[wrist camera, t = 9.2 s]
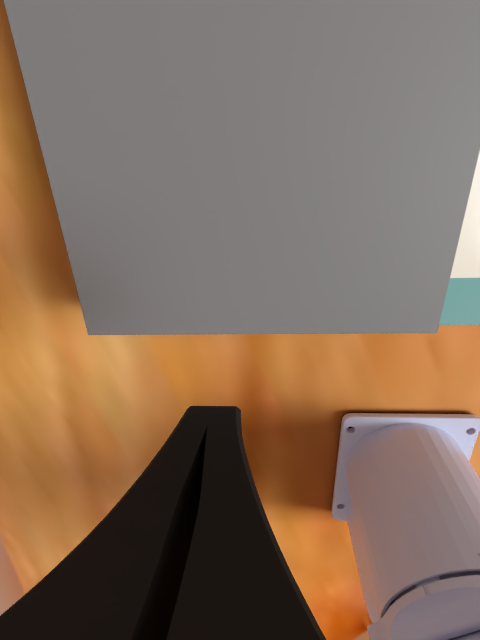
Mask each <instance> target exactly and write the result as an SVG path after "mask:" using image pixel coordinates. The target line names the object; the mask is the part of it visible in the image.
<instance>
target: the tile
mask: <svg viewBox="0 0 480 640" xmlns="http://www.w3.org/2000/svg"><path fill="white" fill-rule="evenodd" d="M450 278H480V151H479V156H478V160H477V164H476V168H475V173H474V177H473V181H472V186H471V190H470V194H469V198H468V203H467V207H466V211H465V216H464V220H463V224H462V228H461V233H460V237H459V241H458V246H457V250H456V254H455V258H454V263H453V267H452V271H451V276H450Z"/></svg>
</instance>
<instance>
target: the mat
mask: <svg viewBox="0 0 480 640" xmlns="http://www.w3.org/2000/svg"><path fill="white" fill-rule="evenodd" d="M439 325H480V278H450V280H449V284H448V288H447V293H446V297H445V301H444V306H443V310H442V314H441V318H440V323H439Z"/></svg>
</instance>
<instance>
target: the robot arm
mask: <svg viewBox="0 0 480 640" xmlns="http://www.w3.org/2000/svg"><path fill="white" fill-rule="evenodd" d="M348 427H352V428H350V429H348ZM469 428H471V429H469ZM468 429H469V430H468ZM479 430H480V419H479V417H478V416H476V415H473V414H386V413H349V414H346V415H345V416H344V417H343V418H342V424H341V433H340V441H339V450H338V459H337V468H336V476H335V485H334V494H333V503H332V517H333V518H334V519H336V520H347V522H348V526H349V531H350V536H351V540H352V545H353V549H354V554H355V559H356V563H357V568H358V572H359V577H360V582H361V586H362V591H363V596H364V600H365V605H366V608H367V611H368V614H369V617H370V619H371V621H372V623H373V624H370V625H368V626H367V630H368V634H369V639H370V640H480V478H479V476H478V475H477V473H476V471H475V470H474V468H473V467H472V465H471V463H470V462H469V460H470V457H471V454H472V451H473V448H474V445H475V442H476V439H477V436H478V433H479ZM0 640H326V638H325V637H324V635H323V633H322V631H321V629H320V628H319V626H318V624H317V622H316V620H315V618H314V616H313V614H312V612H311V610H310V608H309V606H308V604H307V603H306V601H305V599H304V597H303V595H302V593H301V591H300V589H299V587H298V585H297V583H296V581H295V579H294V577H293V575H292V573H291V571H290V569H289V567H288V565H287V563H286V561H285V558H284V556H283V554H282V552H281V550H280V548H279V545H278V543H277V541H276V538H275V536H274V534H273V531H272V529H271V527H270V524H269V522H268V519H267V517H266V514H265V512H264V509H263V506H262V504H261V501H260V498H259V495H258V492H257V490H256V487H255V484H254V480H253V477H252V474H251V471H250V467H249V464H248V460H247V457H246V453H245V448H244V444H243V439H242V430H241V410H240V409H239V408H238V407H236V406H190V407H189V408H188V409H187V410H186V412H185V414H184V415H183V417H182V418H181V420H180V421H179V423H178V425H177V426H176V428H175V429H174V431H173V432H172V434H171V435H170V436H169V438H168V439H167V441H166V442H165V444H164V445H163V446H162V448H161V449H160V451H159V452H158V453H157V455H156V456H155V457H154V459H153V460H152V461H151V463H150V464H149V465H148V467H147V468H146V469H145V471H144V472H143V473H142V474H141V476H140V477H139V478H138V479H137V480H136V482H135V483H134V484H133V485H132V487H131V488H130V489H129V490H128V491H127V493H126V494H125V495H124V496H123V497H122V499H121V500H120V501H119V502H118V503H117V504H116V506H115V507H114V508H113V509H112V510H111V511H110V512H109V513H108V515H107V516H106V517H105V518H104V519H103V520H102V521H101V522H100V523H99V524H98V525H97V526H96V527H95V528H94V529H93V530H92V532H91V533H90V534H89V535H88V536H87V537H86V538H85V539H84V540H83V541H82V542H81V543H80V544H79V545H78V546H77V547H76V548H75V549H74V550H73V551H72V552H71V553H70V554H69V555H67V556H66V557H65V558H64V559H63V560H62V561H61V562H60V563H59V564H58V565H57V566H56V567H55V568H54V569H53V570H52V571H51V572H50V573H49V574H48V575H47V576H45V577H44V578H43V579H42V580H41V581H40V582H39V583H38V584H37V585H36V586H34V587H33V588H32V589H31V590H30V591H29V592H28V593H26V594H25V595H24V596H23V597H22V598H21V599H20V600H18V601H17V602H16V603H15V604H14V605H12V606H11V607H10V608H9V609H8V610H7V611H5V612H4V613H3V614H2V615H1V616H0Z"/></svg>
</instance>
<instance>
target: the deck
mask: <svg viewBox="0 0 480 640" xmlns="http://www.w3.org/2000/svg"><path fill="white" fill-rule="evenodd" d="M4 4H5V8H6V12H7V16H8V20H9V24H10V28H11V32H12V36H13V40H14V44H15V48H16V52H17V56H18V59H19V63H20V67H21V71H22V75H23V79H24V83H25V87H26V91H27V95H28V99H29V103H30V107H31V111H32V115H33V119H34V123H35V126H36V130H37V134H38V138H39V142H40V146H41V150H42V154H43V158H44V162H45V166H46V170H47V174H48V178H49V182H50V186H51V190H52V194H53V197H54V201H55V205H56V209H57V213H58V217H59V221H60V225H61V229H62V233H63V237H64V241H65V245H66V249H67V253H68V257H69V261H70V264H71V268H72V272H73V276H74V280H75V284H76V288H77V292H78V296H79V300H80V304H81V308H82V312H83V316H84V320H85V324H86V328H87V331H88V335H176V334H379V333H437V331H438V327H439V323H440V318H441V314H442V310H443V306H444V301H445V297H446V293H447V288H448V284H449V280H450V276H451V271H452V267H453V263H454V258H455V254H456V250H457V246H458V241H459V237H460V233H461V228H462V224H463V220H464V216H465V211H466V207H467V203H468V198H469V194H470V190H471V186H472V181H473V177H474V173H475V168H476V164H477V160H478V156H479V151H480V0H4Z"/></svg>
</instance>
